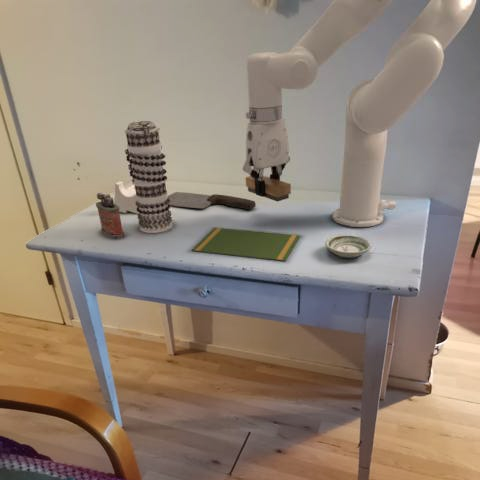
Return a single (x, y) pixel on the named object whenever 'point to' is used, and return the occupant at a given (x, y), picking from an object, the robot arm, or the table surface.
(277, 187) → the chalkboard eraser
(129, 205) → the bracket
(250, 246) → the cloth
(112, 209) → the lighter
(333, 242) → the saucer
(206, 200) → the cleaver
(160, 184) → the decorative candle
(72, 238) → the table surface
